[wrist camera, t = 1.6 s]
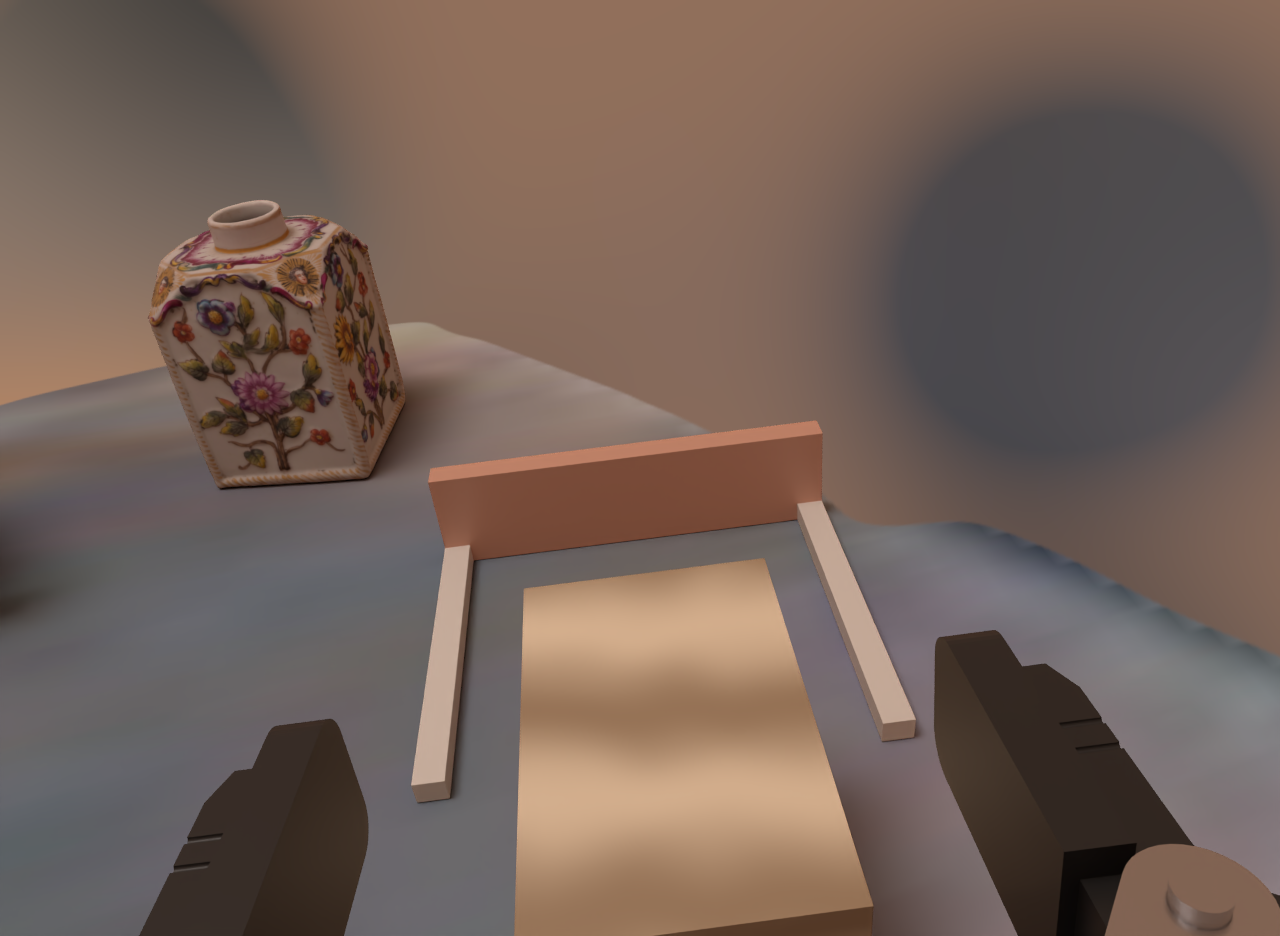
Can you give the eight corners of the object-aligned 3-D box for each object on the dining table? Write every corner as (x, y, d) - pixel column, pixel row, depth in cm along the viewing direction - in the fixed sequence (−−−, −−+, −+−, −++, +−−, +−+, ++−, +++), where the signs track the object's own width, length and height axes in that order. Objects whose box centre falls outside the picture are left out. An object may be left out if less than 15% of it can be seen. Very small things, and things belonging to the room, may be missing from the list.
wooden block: (856, 1139, 31) (873, 906, 24) (580, 1178, 31) (514, 954, 23) (770, 785, 42) (764, 558, 35) (570, 811, 42) (523, 588, 35)
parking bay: (914, 737, 44) (923, 642, 41) (417, 802, 43) (385, 711, 40) (815, 502, 60) (816, 420, 56) (451, 548, 59) (430, 468, 56)
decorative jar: (411, 400, 76) (354, 177, 67) (374, 481, 67) (300, 233, 57) (268, 410, 77) (190, 191, 68) (210, 492, 68) (110, 249, 58)
